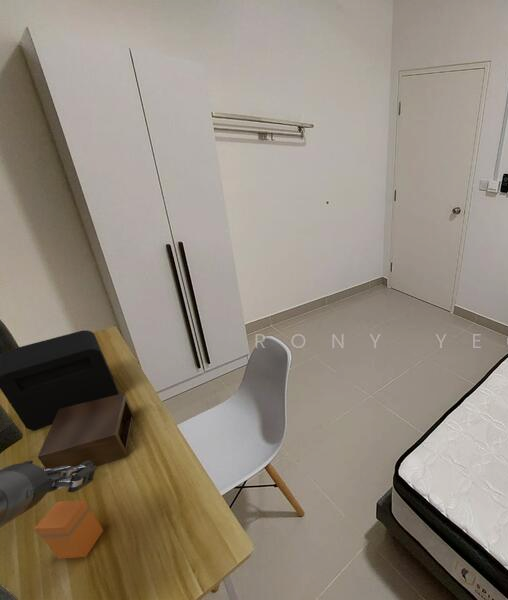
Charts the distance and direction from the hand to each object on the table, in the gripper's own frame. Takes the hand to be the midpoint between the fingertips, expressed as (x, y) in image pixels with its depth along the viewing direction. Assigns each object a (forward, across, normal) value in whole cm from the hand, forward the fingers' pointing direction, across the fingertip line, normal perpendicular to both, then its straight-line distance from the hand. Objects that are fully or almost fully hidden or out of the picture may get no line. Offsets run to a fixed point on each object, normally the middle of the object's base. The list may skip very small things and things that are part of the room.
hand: (59, 466), depth 61 cm
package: (+10, +4, -18) cm, 21 cm away
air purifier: (+50, -19, +5) cm, 53 cm away
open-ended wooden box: (+32, -5, -3) cm, 33 cm away
